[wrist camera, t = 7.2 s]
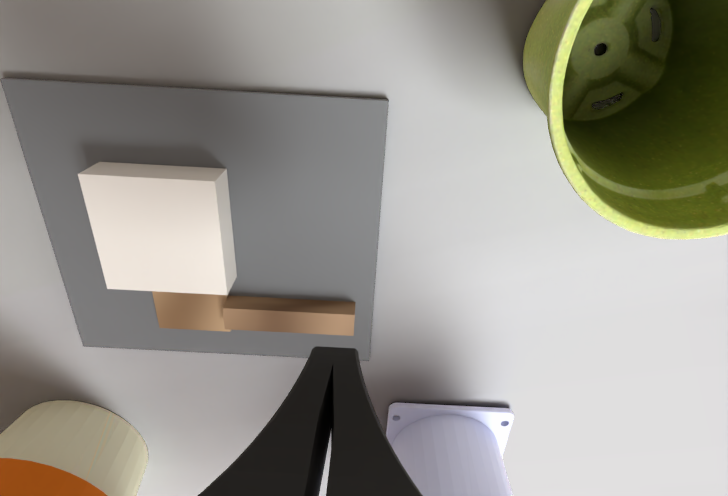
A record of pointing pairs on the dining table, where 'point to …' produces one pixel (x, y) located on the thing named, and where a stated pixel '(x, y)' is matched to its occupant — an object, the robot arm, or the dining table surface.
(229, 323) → the wooden plank
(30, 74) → the dining table surface
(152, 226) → the tile
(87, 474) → the reusable coffee cup
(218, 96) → the mat
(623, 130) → the plant pot
